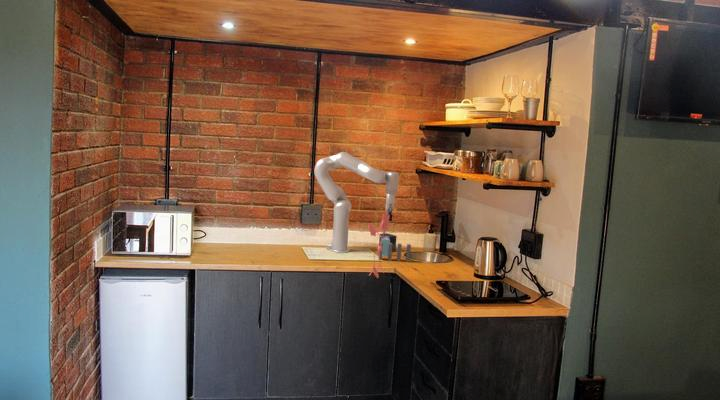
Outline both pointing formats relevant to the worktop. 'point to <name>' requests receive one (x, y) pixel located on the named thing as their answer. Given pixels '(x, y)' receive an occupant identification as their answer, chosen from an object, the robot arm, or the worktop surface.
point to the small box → (392, 240)
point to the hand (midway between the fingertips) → (389, 219)
